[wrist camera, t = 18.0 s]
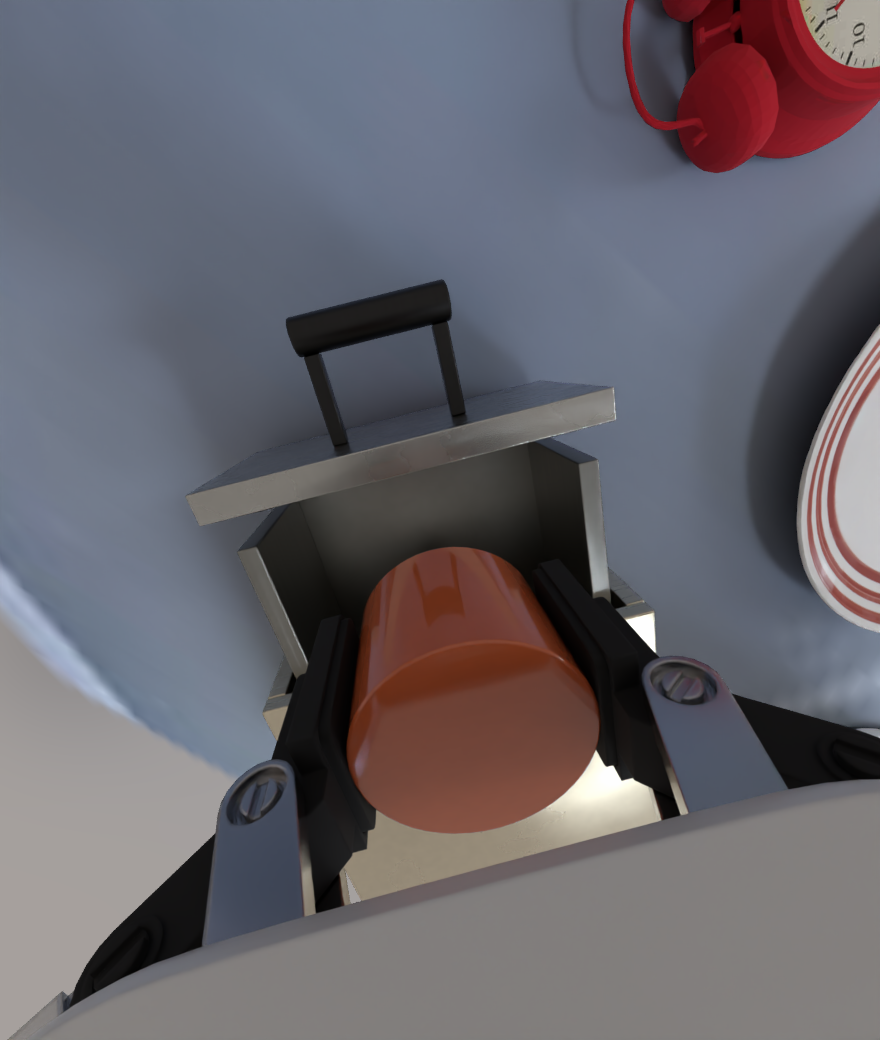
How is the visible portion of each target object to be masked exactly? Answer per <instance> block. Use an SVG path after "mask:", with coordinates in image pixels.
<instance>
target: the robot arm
mask: <svg viewBox="0 0 880 1040" xmlns="http://www.w3.org/2000/svg"><path fill="white" fill-rule="evenodd" d="M532 574H533V581H534V587H535V593H536V597H537V599H538V600H539V602H540V604H541V605H542V607H543V609H544V610H545V612H546V613H547V615H548V617H549V618H550V620H551V622H552V623H553V625H554V626H555V628H556V630H557V631H558V633H559V634H560V636H561V638H562V639H563V641H564V643H565V644H566V646H567V647H568V649H569V651H570V652H571V654H572V656H573V657H574V659H575V660H576V662H577V664H578V665H579V667H580V669H581V670H582V672H583V673H584V675H585V677H586V678H587V680H588V682H589V683H590V685H591V686H592V688H593V690H594V692H595V695H596V697H597V701H598V705H599V712H600V721H601V729H600V736H599V741H598V745H597V748H596V751H597V753H598V754H599V756H600V758H601V760H602V762H603V764H604V765H605V766H606V767H609V766H614V768H615V770H616V772H617V774H618V776H619V777H620V779H621V781H624V780H628V779H631V778H633V779H634V781H637V782H639V783H641V784H643V785H645V786H648V790H649V793H650V797H651V800H652V804H653V807H654V811H655V814H656V818H657V821H658V822H654V823H650V824H647V825H643V826H639V827H635V828H631V829H628V830H624V831H620V832H616V833H612V834H608V835H605V836H601V837H597V838H593V839H589V840H586V841H582V842H578V843H574V844H570V845H567V846H563V847H559V848H556V849H552V850H548V851H544V852H541V853H537V854H533V855H529V856H526V857H522V858H518V859H514V860H511V861H507V862H503V863H500V864H496V865H492V866H488V867H485V868H481V869H477V870H474V871H470V872H466V873H463V874H459V875H455V876H451V877H448V878H444V879H440V880H437V881H433V882H429V883H426V884H422V885H418V886H414V887H411V888H407V889H404V890H400V891H396V892H393V893H389V894H385V895H382V896H378V897H375V898H371V899H367V900H364V901H360V902H356V903H353V904H350V899H349V891H348V885H347V880H346V873H345V869H344V866H345V865H346V863H347V862H348V861H349V860H350V858H351V857H352V854H353V853H355V852H358V851H362V850H366V849H367V841H368V831H369V830H373V829H374V828H375V824H376V809H375V808H374V807H373V806H371V805H370V804H369V803H368V802H367V801H366V800H365V798H364V797H363V796H362V795H361V793H360V792H359V791H358V789H357V787H356V785H355V784H354V781H353V779H352V777H351V774H350V771H349V768H348V764H347V757H346V740H347V732H348V725H349V717H350V709H351V701H352V694H353V686H354V678H355V670H356V663H357V655H358V647H359V637H358V634H357V632H356V629H355V626H354V623H353V621H352V619H351V618H347V619H345V618H344V616H343V615H338V616H334V617H330V618H326V619H323V620H321V622H320V625H319V629H318V632H317V636H316V639H315V643H314V646H313V650H312V653H311V656H310V660H309V663H308V667H307V670H306V673H304V674H301V675H300V676H298V678H297V680H296V683H295V686H294V689H293V692H292V695H291V699H290V702H289V705H288V708H287V711H286V715H285V718H284V721H283V724H282V727H281V731H280V734H279V737H278V740H277V743H276V747H275V750H274V753H273V756H272V759H271V760H268V761H265V762H262V763H260V764H257V765H256V766H254V767H252V768H251V769H249V770H248V771H246V772H245V773H244V774H243V775H242V776H241V777H239V778H238V779H237V780H236V781H235V782H234V784H233V785H232V786H231V787H230V789H229V790H228V791H227V793H226V795H225V796H224V798H223V800H222V802H221V805H220V808H219V812H218V817H217V825H216V833H215V834H214V835H213V836H212V837H211V838H210V839H209V840H208V841H207V842H206V843H205V844H204V845H203V846H202V847H201V848H200V849H199V850H198V851H196V853H194V854H193V855H192V856H191V857H190V858H189V859H188V860H187V861H186V862H185V863H184V864H183V865H182V866H181V867H180V868H179V869H178V870H177V871H176V872H175V873H174V874H172V876H171V877H169V878H168V879H167V880H166V881H165V882H164V883H163V884H162V885H161V886H160V887H159V888H158V889H157V890H156V891H155V892H154V893H153V894H152V895H151V896H149V897H148V898H147V899H146V900H145V901H144V902H143V903H142V904H141V905H140V906H139V907H138V908H137V909H136V910H135V911H134V912H133V913H132V914H131V915H130V916H129V917H128V918H127V919H125V920H124V921H123V922H122V923H121V924H120V925H119V926H118V927H117V928H116V929H115V930H114V931H113V932H112V933H111V934H110V936H109V937H108V938H107V939H106V940H105V941H104V942H103V943H102V945H100V946H99V948H98V950H97V951H96V952H95V954H94V955H93V956H92V958H91V959H90V961H89V962H88V964H87V965H86V967H85V969H84V971H83V973H82V975H81V977H80V978H79V980H78V983H77V984H76V987H75V990H74V991H73V992H72V993H71V994H70V995H69V996H67V995H66V994H65V993H64V992H63V991H62V992H61V993H60V994H58V995H57V996H56V997H55V998H54V999H53V1000H52V1001H51V1002H49V1003H48V1004H47V1005H46V1006H45V1007H44V1008H43V1009H42V1010H40V1011H39V1012H38V1013H37V1014H36V1015H35V1016H34V1017H32V1019H30V1020H29V1021H28V1022H27V1023H26V1024H25V1025H24V1026H22V1027H21V1028H20V1029H19V1030H18V1031H17V1032H16V1033H15V1034H13V1035H12V1036H11V1037H10V1038H9V1039H8V1040H880V730H879V729H874V728H859V729H853V728H849V727H846V726H842V725H839V724H835V723H832V722H828V721H825V720H821V719H818V718H814V717H811V716H807V715H804V714H800V713H797V712H794V711H790V710H787V709H783V708H780V707H776V706H773V705H769V704H766V703H762V702H759V701H755V700H752V699H748V698H745V697H741V696H738V695H734V694H732V693H731V691H730V690H729V688H728V686H727V685H726V683H725V681H724V680H723V679H722V677H721V676H720V675H719V674H718V673H717V672H716V671H715V670H714V669H712V668H711V667H709V666H708V665H706V664H704V663H702V662H700V661H697V660H695V659H691V658H687V657H683V656H665V657H659V656H658V655H657V654H656V653H655V652H654V651H653V650H652V649H651V648H650V646H649V645H648V644H647V643H646V642H645V641H644V640H643V639H642V638H641V637H640V635H639V634H638V633H637V632H636V631H635V630H634V629H633V628H632V627H631V626H630V625H629V623H628V622H627V621H626V620H625V619H624V618H623V617H622V616H621V615H620V614H619V612H618V611H617V610H616V609H615V608H614V607H613V606H612V605H611V604H610V603H609V601H608V600H607V599H605V598H604V597H597V598H593V599H592V597H591V596H590V595H589V594H588V593H587V591H586V590H585V589H584V588H583V587H582V586H581V584H580V583H579V582H578V581H577V580H576V579H575V577H574V576H573V575H572V574H571V573H570V572H569V570H568V569H567V568H566V567H565V566H564V565H563V563H562V562H561V561H560V560H559V559H555V560H551V561H547V562H543V563H539V564H538V569H537V570H533V571H532Z"/></svg>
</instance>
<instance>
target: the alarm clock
mask: <svg viewBox="0 0 880 1040" xmlns="http://www.w3.org/2000/svg"><path fill="white" fill-rule="evenodd" d="M662 3H663V7H664V9H665V11H666V13H667V14H668V16H669V17H671V18H673V19H675V20H678V21H682V22H689V21H691V20H692V19H694V20H693V54H694V63H695V69H696V71H695V73H694V74H693V75H692V76H691V78H690V79H689V81H688V82H687V84H686V86H685V88H684V90H683V93H682V96H681V98H680V101H679V104H678V111H677V121H671V122H664V121H660V120H657V119H656V118H654V117H653V116H651V115H650V114H649V113H648V111H647V110H646V108H645V106H644V104H643V102H642V100H641V98H640V95H639V92H638V89H637V85H636V82H635V77H634V72H633V66H632V59H631V47H630V21H631V13H632V8H633V4H634V0H628V1H627V4H626V8H625V15H624V22H623V51H624V61H625V72H626V76H627V80H628V84H629V88H630V93H631V96H632V99H633V102H634V105H635V107H636V109H637V111H638V113H639V114H640V116H641V117H642V118H643V120H644V121H645V122H646V123H647V124H648V125H650V126H652V127H653V128H655V129H661V130H673V129H678V134H679V138H680V142H681V144H682V147H683V149H684V151H685V153H686V154H687V156H688V157H689V159H690V160H691V161H692V162H693V163H694V164H695V165H696V166H697V167H698V168H700V169H702V170H703V171H708V172H713V173H719V172H724V171H729V170H732V169H734V168H736V167H738V166H739V165H741V164H742V163H744V162H745V161H747V160H748V159H749V158H751V157H752V156H753V155H754V154H755V155H757V156H762V157H767V158H790V157H794V156H799V155H802V154H805V153H808V152H811V151H813V150H816V149H818V148H820V147H822V146H824V145H826V144H828V143H829V142H831V141H833V140H835V139H836V138H838V137H840V136H841V135H843V134H844V133H845V132H847V131H848V130H849V129H851V128H852V127H853V126H854V125H856V124H857V123H858V122H859V121H860V120H861V119H862V118H863V117H864V116H865V115H866V114H867V113H868V112H869V111H870V110H871V109H872V108H873V107H874V106H875V105H876V104H877V102H878V101H879V100H880V0H662Z"/></svg>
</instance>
